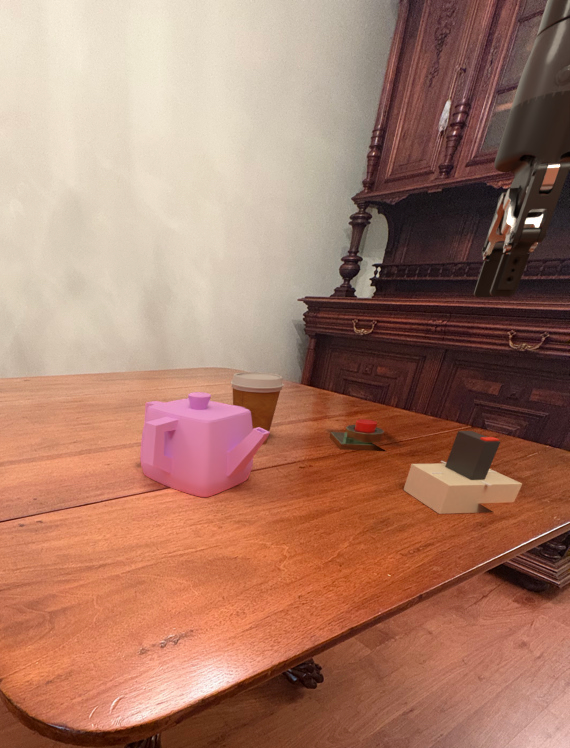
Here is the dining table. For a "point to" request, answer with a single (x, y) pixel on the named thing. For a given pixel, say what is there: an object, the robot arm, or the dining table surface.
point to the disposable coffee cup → (257, 396)
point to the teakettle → (198, 444)
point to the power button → (365, 425)
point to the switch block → (357, 439)
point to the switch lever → (472, 454)
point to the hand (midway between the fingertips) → (491, 296)
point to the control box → (458, 489)
